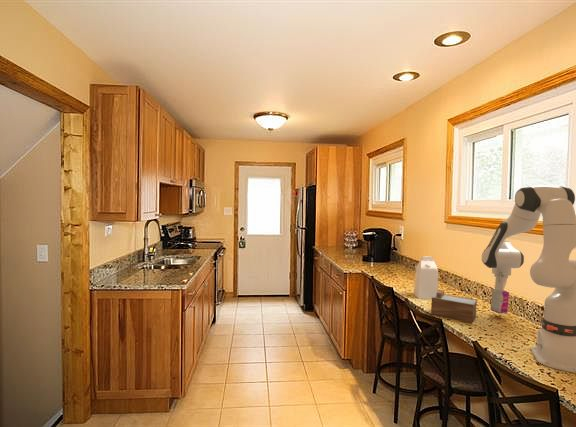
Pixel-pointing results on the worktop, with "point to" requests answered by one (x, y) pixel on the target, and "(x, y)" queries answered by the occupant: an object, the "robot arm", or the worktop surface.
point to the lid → (453, 298)
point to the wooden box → (453, 309)
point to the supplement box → (499, 302)
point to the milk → (426, 278)
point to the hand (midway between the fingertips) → (500, 296)
